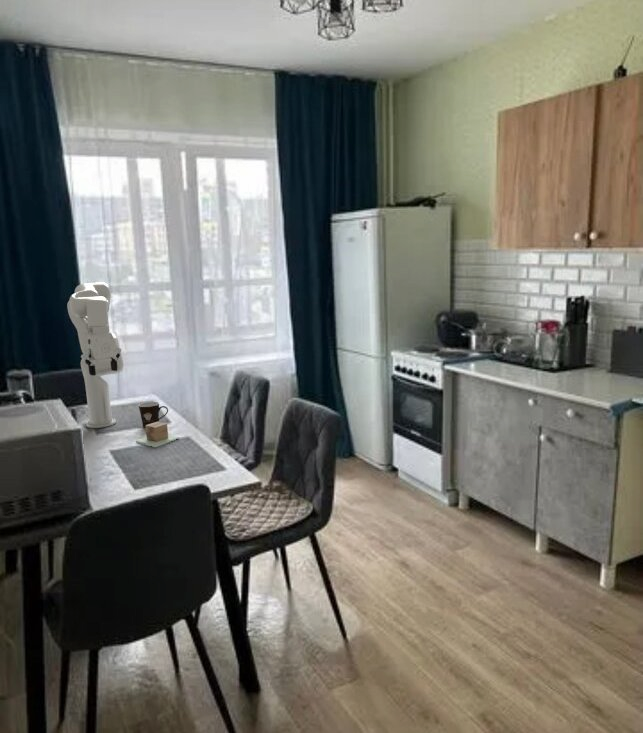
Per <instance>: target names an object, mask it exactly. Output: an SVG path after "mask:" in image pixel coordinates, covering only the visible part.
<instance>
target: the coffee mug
mask: <svg viewBox="0 0 643 733" xmlns="http://www.w3.org/2000/svg"><path fill="white" fill-rule="evenodd" d="M162 408H165V410H166V412H165V414H164V415H161V417H160V416H159V415H160V411H161V409H162ZM138 410H139V413H140V418H141V422H142V427H143V428H144V429H146V427H145V425H148V424H151V423H155V422H160V420H161V419H163V418H164V417H165V416H167V414H168V413H169V409H168V407H167V406H165V405H163V406H160V402H158V401H145V402H142V403H139V404H138Z"/></svg>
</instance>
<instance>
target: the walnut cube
mask: <svg viewBox="0 0 643 733" xmlns="http://www.w3.org/2000/svg"><path fill="white" fill-rule="evenodd" d="M145 427H146V428H145V434H146V436H145V437H147V440H150V441H154V442H158V441H161V440H164V439H167V438H168V435H169V430H168V423H165V422H161V421H159V422H155V423H151V424H148V425H145Z"/></svg>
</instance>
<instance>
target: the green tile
mask: <svg viewBox="0 0 643 733" xmlns="http://www.w3.org/2000/svg"><path fill="white" fill-rule="evenodd" d="M176 439H178V440H180V437H179V436H176V435H172V434H168V438H167V439H164V440H161V441H158V442H154V441H150V440H147V437H146V436H145V437H143V438H140V439H137V440H135V443H136V442H137V444H140V443H141V445H144V444H145V445H144V446H147V447H151V446H152V448H159V447H160V446H163V445H167V444H169V442H170V443H172V442H171V441H173V442H175V441H177V440H176ZM174 440H175V441H174ZM166 443H167V444H166Z"/></svg>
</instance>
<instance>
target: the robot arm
mask: <svg viewBox="0 0 643 733" xmlns="http://www.w3.org/2000/svg"><path fill="white" fill-rule="evenodd" d="M111 295H112V294H111V288H110V287H109V285H108V284H107V283H106V282H88V283H87V282H86V283H82V284H79V285H77V286H76V287H75V289H74V293H73V294H71V295H70V297H69V300H68V302H67V305H66V306H67V312H68V316H69V319H70V320H71V322H72V324H73V325H74V327H75V329H76V331H77V335H78V342H79V345H80V349H81V352H82V354H81V355H80V358H81V360H80V367H81V372H82V375H83V379H84V386H85V392H86V393H85V394H86V402H87V410H88V413H87V415H86V418H87V419H88V421H87V422H86V423H85V424H86V427H87V428H90V429H100V428H106V427H111V426H113V425H116V423H117V420H116V418H113V416H112V414H113V412H112V406H111V398H110V397H111V396H110V388H109V384H108V382H107V380H105V379H104V378H103V377H104V376H107V375H116V374H120V373H122V372H123V370H124V360H123V356H122V348H120V343H119V340H118V337H117V335H116V334H115V333H112V332H110V331H111V330H110V324H109V315H108V312H109V311H110V306H111V298H112V296H111Z"/></svg>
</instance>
